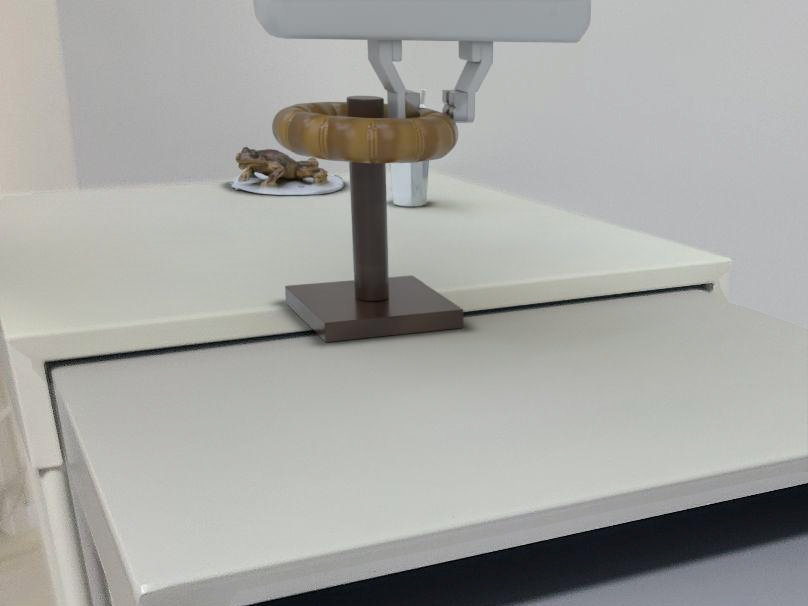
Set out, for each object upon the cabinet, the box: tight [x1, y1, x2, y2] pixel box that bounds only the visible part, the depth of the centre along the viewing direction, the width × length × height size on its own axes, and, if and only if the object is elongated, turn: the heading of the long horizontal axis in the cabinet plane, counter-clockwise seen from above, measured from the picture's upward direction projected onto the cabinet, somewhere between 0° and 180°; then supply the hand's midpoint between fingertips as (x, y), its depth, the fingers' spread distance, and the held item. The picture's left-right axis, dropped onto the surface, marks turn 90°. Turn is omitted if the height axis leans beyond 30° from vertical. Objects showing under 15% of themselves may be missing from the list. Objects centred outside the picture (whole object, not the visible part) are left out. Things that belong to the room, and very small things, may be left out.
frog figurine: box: [229, 146, 345, 196], centre depth 108 cm, size 12×12×4 cm
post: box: [284, 95, 464, 343], centre depth 67 cm, size 9×9×13 cm
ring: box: [271, 101, 459, 164], centre depth 64 cm, size 11×11×2 cm
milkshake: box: [388, 89, 430, 208], centre depth 101 cm, size 4×5×10 cm
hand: (431, 122), depth 66 cm, fingers closed on ring, 2 cm apart
